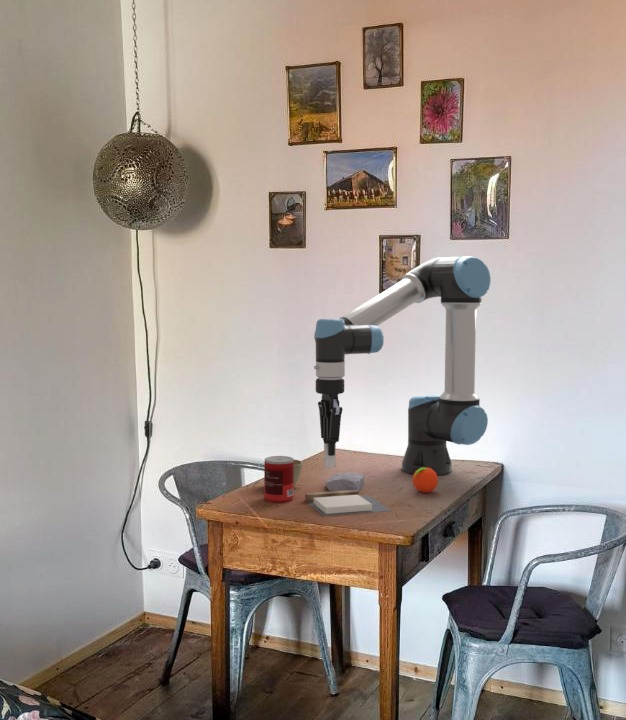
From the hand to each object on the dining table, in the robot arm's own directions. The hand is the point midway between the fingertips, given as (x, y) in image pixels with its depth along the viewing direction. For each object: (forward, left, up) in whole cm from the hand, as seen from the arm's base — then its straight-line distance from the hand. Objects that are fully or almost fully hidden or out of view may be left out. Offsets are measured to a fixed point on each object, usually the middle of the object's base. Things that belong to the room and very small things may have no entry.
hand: (329, 467), depth 218 cm
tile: (0, +6, -7) cm, 9 cm away
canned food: (+13, -2, -9) cm, 16 cm away
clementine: (-27, +1, -9) cm, 28 cm away
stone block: (-8, -10, -9) cm, 16 cm away
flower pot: (+8, -15, -9) cm, 19 cm away
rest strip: (0, +3, -8) cm, 9 cm away
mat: (-2, +9, -8) cm, 12 cm away
